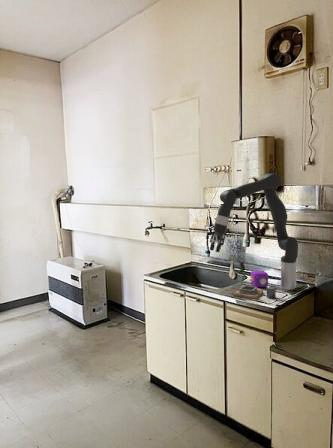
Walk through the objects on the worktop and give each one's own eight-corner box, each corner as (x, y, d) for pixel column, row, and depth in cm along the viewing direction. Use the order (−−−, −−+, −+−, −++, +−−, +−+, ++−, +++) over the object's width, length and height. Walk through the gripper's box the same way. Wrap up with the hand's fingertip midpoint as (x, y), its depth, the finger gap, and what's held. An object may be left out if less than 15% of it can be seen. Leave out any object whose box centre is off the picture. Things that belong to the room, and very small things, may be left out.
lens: (268, 295, 207) (268, 284, 206) (276, 297, 204) (276, 285, 203) (265, 298, 203) (265, 286, 202) (274, 299, 200) (274, 287, 199)
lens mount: (241, 289, 221) (241, 283, 220) (263, 292, 213) (263, 286, 213) (233, 295, 209) (233, 289, 209) (255, 299, 201) (255, 292, 201)
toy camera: (258, 290, 219) (258, 274, 218) (247, 284, 232) (247, 270, 231) (273, 288, 222) (273, 273, 221) (262, 282, 235) (262, 268, 234)
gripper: (232, 226, 194) (225, 254, 194) (221, 225, 208) (215, 251, 208) (220, 223, 192) (213, 251, 192) (210, 222, 206) (203, 248, 206)
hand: (214, 251), depth 200 cm, fingers open, 8 cm apart
